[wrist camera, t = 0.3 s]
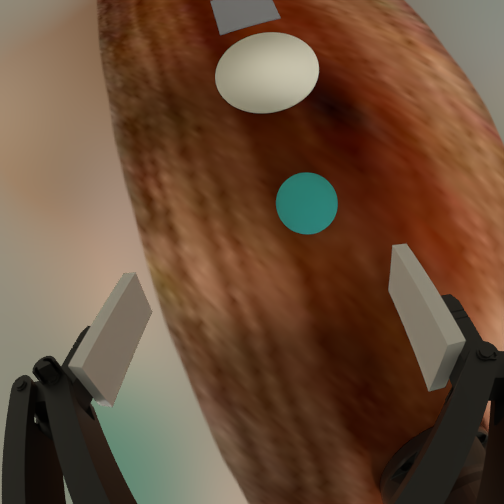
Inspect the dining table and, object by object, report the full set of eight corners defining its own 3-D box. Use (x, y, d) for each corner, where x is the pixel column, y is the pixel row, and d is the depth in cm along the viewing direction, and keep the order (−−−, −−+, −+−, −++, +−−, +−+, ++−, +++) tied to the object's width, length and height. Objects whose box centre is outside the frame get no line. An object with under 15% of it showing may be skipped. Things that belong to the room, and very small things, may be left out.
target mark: (333, 98, 30) (333, 97, 29) (226, 126, 32) (225, 126, 32) (300, 24, 31) (300, 23, 30) (208, 50, 33) (207, 49, 33)
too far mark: (280, 18, 31) (280, 17, 31) (220, 35, 33) (220, 34, 32) (264, -14, 32) (264, -15, 31) (211, 2, 33) (210, 1, 33)
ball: (342, 229, 29) (347, 222, 24) (287, 242, 30) (280, 238, 25) (327, 175, 30) (328, 157, 24) (274, 188, 31) (264, 174, 25)
